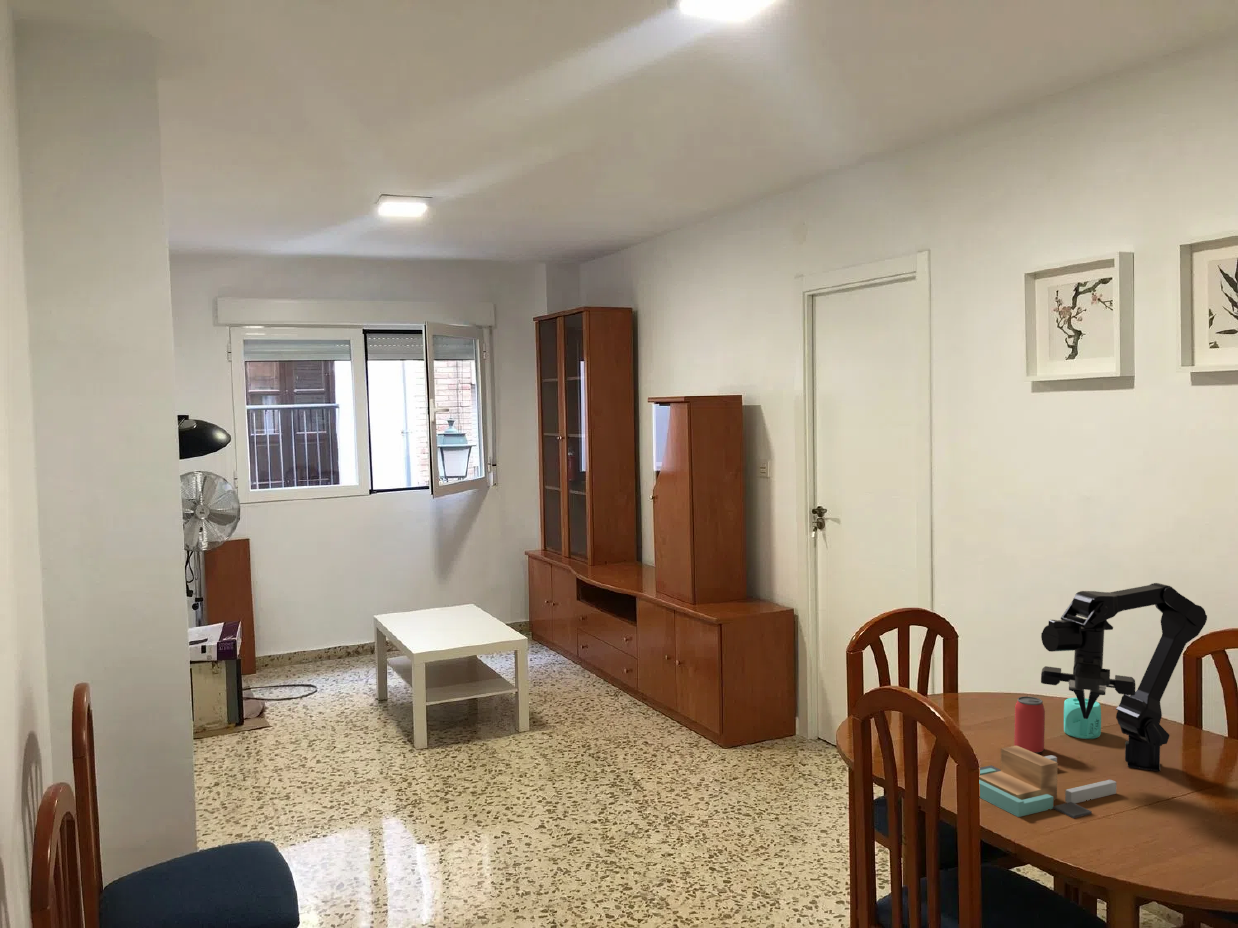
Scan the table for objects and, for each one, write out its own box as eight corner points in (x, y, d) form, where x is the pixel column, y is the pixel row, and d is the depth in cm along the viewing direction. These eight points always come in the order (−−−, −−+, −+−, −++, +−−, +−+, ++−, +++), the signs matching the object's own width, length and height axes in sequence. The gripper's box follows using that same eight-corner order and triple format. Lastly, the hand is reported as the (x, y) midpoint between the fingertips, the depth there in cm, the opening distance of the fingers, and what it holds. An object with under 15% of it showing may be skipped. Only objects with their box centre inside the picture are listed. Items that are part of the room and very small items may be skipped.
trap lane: (1034, 758, 226) (1034, 745, 225) (1137, 802, 201) (1137, 788, 201) (941, 777, 215) (941, 764, 214) (1037, 826, 190) (1038, 811, 190)
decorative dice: (1064, 736, 240) (1065, 705, 239) (1063, 726, 247) (1064, 695, 246) (1100, 740, 236) (1101, 708, 236) (1098, 730, 244) (1099, 699, 243)
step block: (1016, 780, 213) (1016, 745, 212) (1056, 799, 203) (1057, 762, 202) (977, 789, 208) (977, 753, 208) (1016, 809, 198) (1017, 770, 198)
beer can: (1047, 754, 228) (1048, 704, 227) (1017, 753, 229) (1018, 703, 228) (1040, 745, 234) (1041, 696, 233) (1011, 743, 235) (1012, 694, 234)
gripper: (1041, 651, 212) (1037, 721, 213) (1137, 663, 204) (1134, 736, 205) (1043, 641, 222) (1040, 708, 223) (1136, 651, 214) (1132, 721, 215)
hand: (1085, 718), depth 216 cm, fingers closed
